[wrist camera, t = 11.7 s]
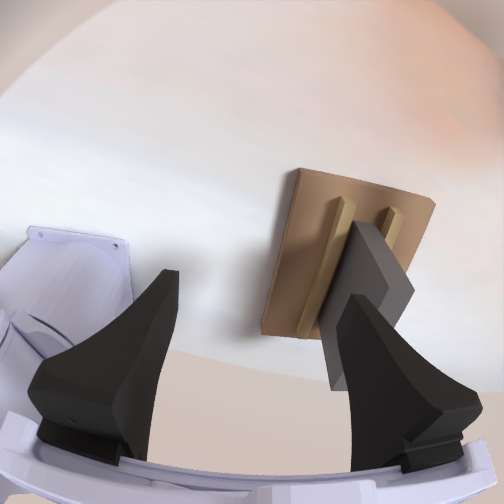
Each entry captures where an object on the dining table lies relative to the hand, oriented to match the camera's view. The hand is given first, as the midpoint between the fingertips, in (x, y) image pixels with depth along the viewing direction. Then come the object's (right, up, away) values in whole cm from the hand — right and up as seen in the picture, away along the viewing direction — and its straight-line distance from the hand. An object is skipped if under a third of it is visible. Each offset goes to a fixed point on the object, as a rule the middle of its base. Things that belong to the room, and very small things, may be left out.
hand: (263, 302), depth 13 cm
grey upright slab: (+6, 0, +10) cm, 12 cm away
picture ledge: (+6, +1, +11) cm, 12 cm away
